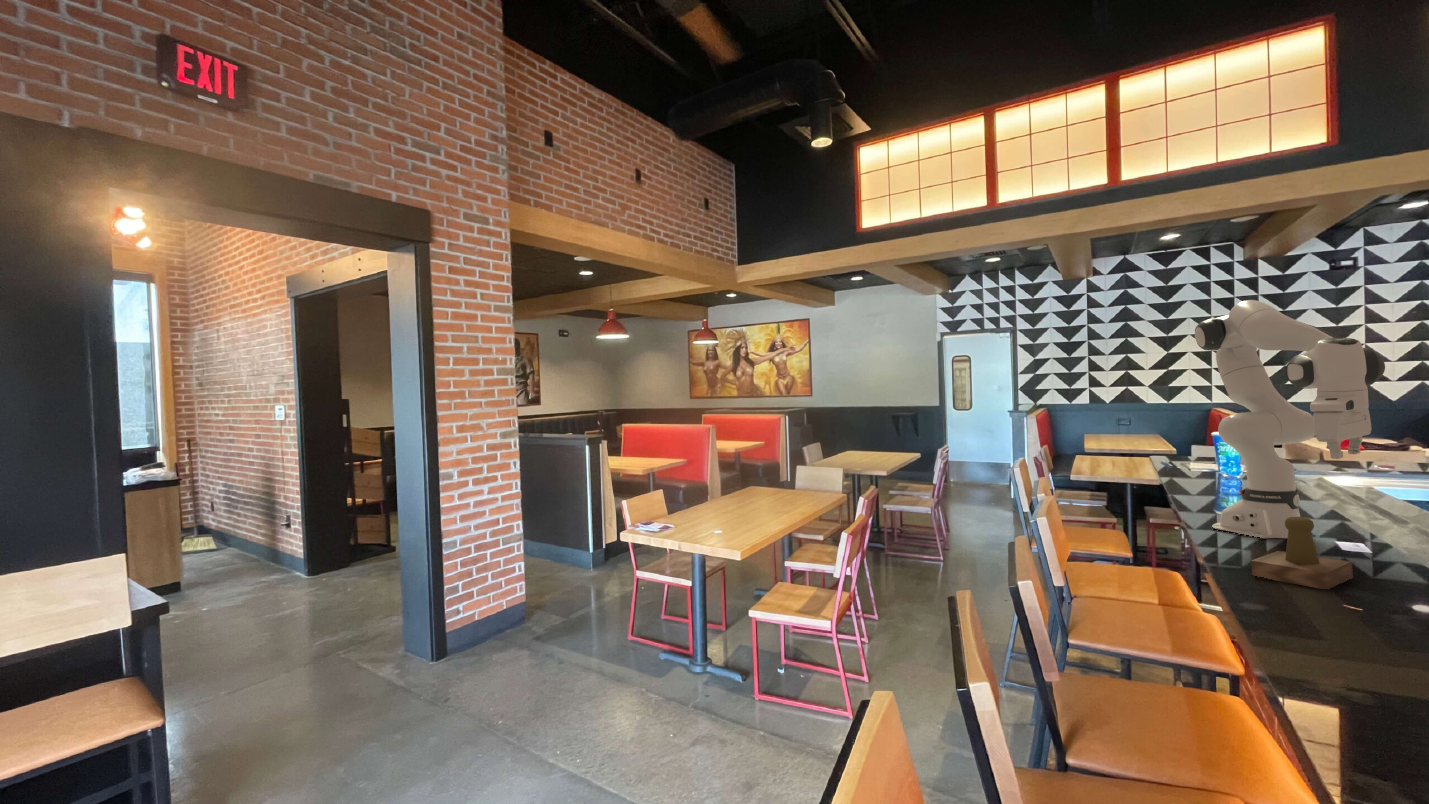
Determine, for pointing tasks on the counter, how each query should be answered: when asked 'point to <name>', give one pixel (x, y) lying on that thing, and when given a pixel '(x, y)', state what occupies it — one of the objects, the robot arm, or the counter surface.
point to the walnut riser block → (1302, 571)
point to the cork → (1300, 541)
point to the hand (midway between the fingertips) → (1345, 456)
